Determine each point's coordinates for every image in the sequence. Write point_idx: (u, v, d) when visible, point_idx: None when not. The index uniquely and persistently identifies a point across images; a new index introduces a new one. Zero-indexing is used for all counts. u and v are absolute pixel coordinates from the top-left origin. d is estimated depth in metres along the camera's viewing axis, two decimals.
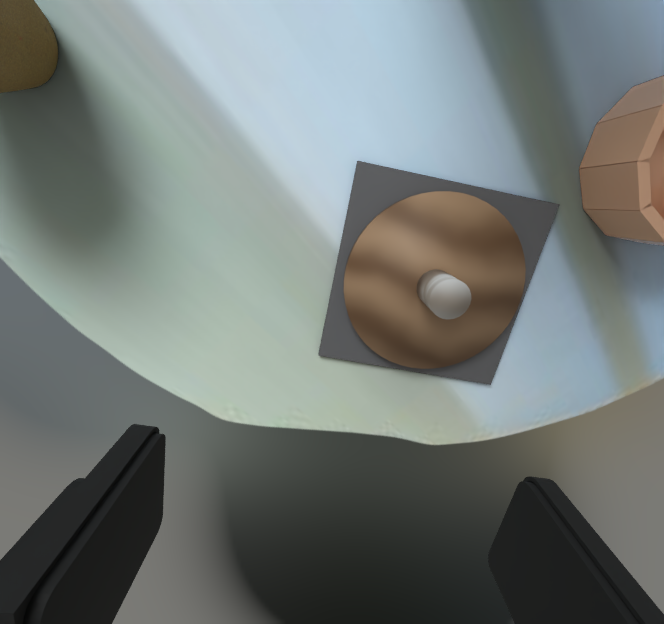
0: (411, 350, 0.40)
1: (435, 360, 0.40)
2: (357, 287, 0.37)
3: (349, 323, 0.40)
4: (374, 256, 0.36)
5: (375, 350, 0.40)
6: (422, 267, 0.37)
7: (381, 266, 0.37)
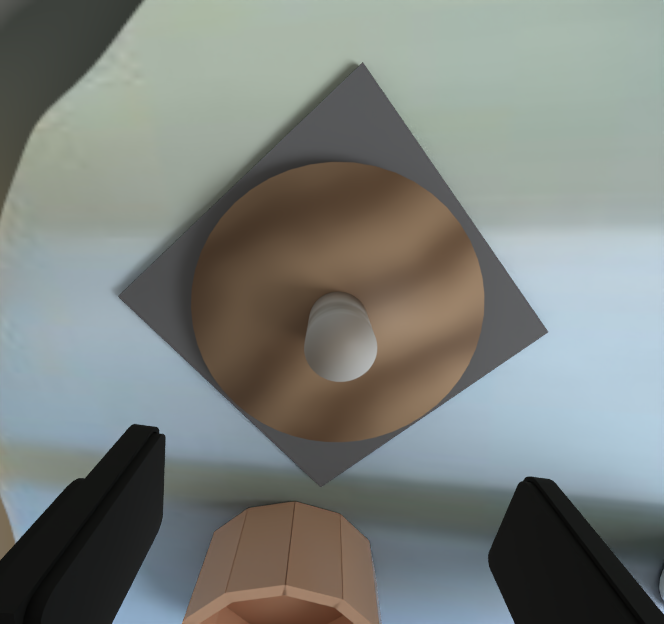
0: (265, 224, 0.21)
1: (221, 248, 0.22)
2: (424, 220, 0.21)
3: (373, 162, 0.22)
4: (442, 274, 0.23)
5: (306, 168, 0.21)
6: (376, 322, 0.23)
7: (422, 273, 0.22)
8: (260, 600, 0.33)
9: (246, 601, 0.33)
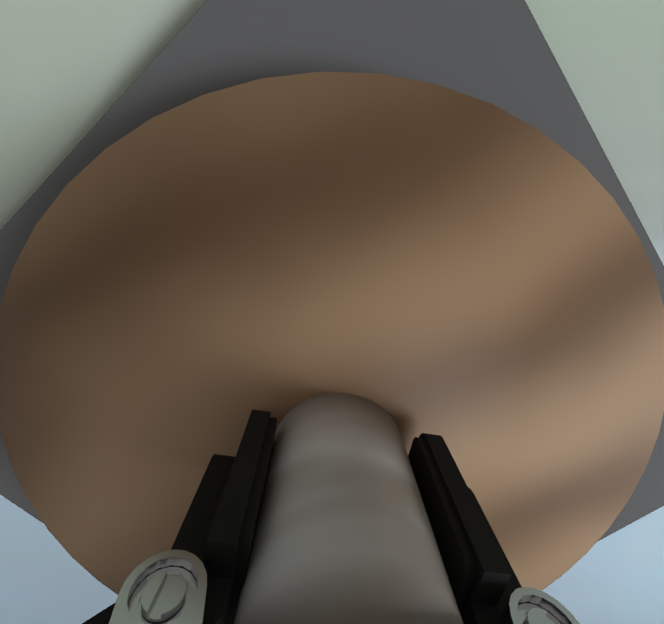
0: (153, 242, 0.08)
1: (49, 299, 0.09)
2: (551, 229, 0.09)
3: None
4: (579, 355, 0.10)
5: (250, 91, 0.08)
6: None
7: (534, 353, 0.10)
8: None
9: None
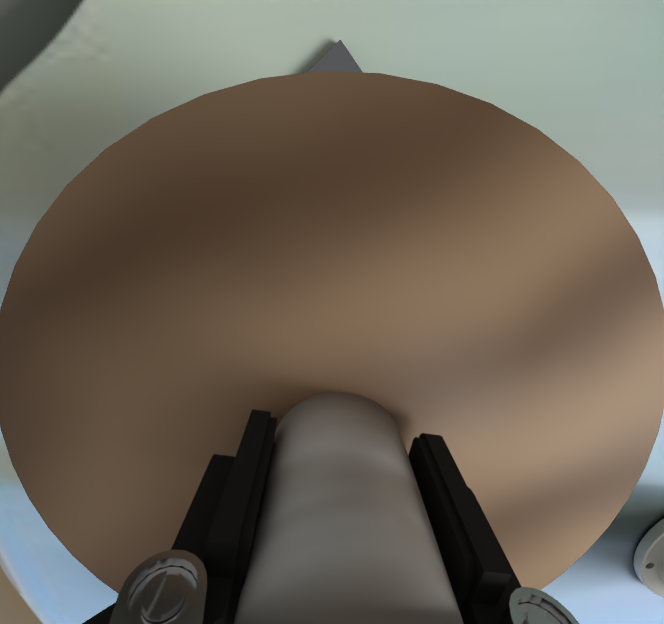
0: (154, 241, 0.09)
1: (50, 298, 0.09)
2: (551, 229, 0.09)
3: None
4: (579, 354, 0.10)
5: (251, 91, 0.08)
6: None
7: (534, 352, 0.10)
8: None
9: None
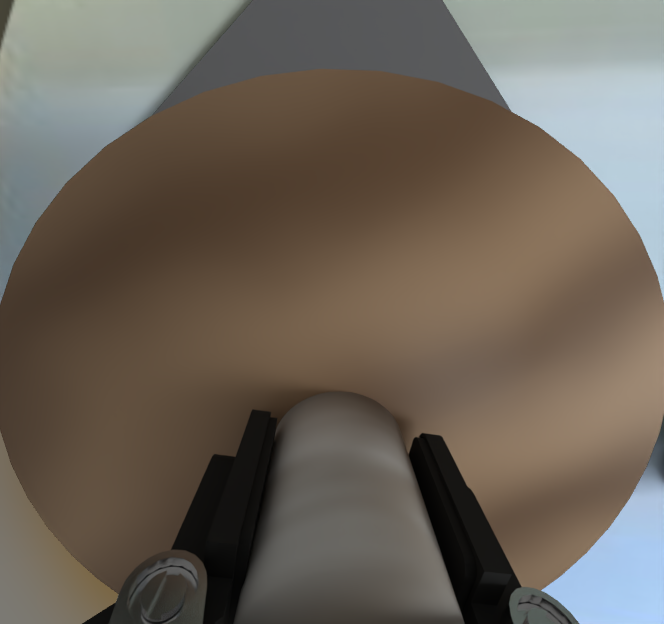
0: (153, 240, 0.08)
1: (50, 297, 0.09)
2: (552, 227, 0.09)
3: None
4: (580, 353, 0.10)
5: (251, 89, 0.08)
6: None
7: (535, 352, 0.10)
8: None
9: None
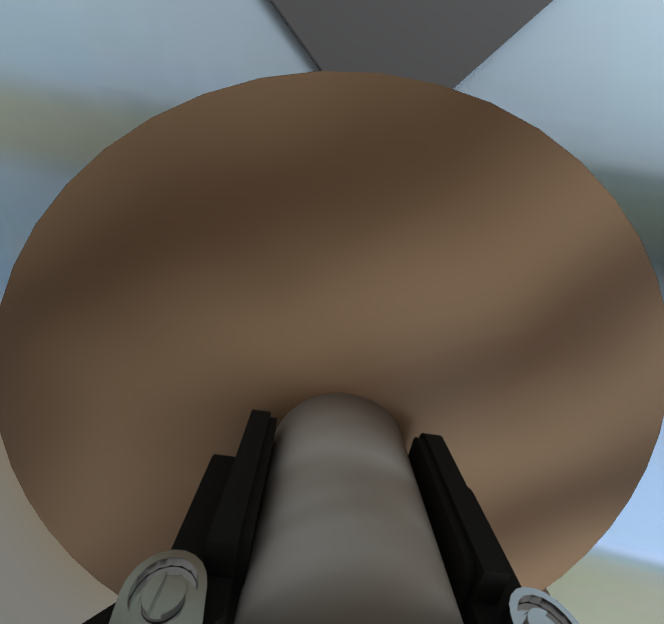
0: (154, 242, 0.08)
1: (49, 299, 0.09)
2: (552, 229, 0.09)
3: None
4: (580, 355, 0.10)
5: (250, 91, 0.08)
6: None
7: (535, 353, 0.10)
8: None
9: None
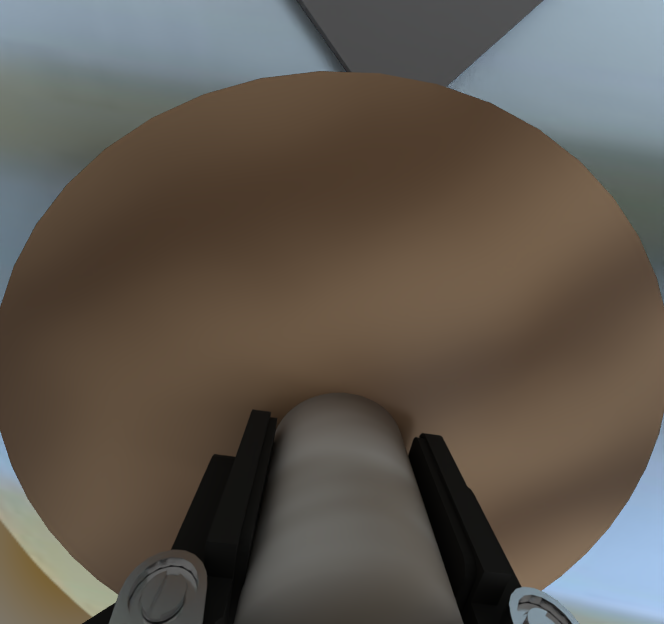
0: (153, 242, 0.08)
1: (49, 299, 0.09)
2: (551, 229, 0.09)
3: None
4: (579, 355, 0.10)
5: (250, 91, 0.08)
6: None
7: (534, 353, 0.10)
8: None
9: None
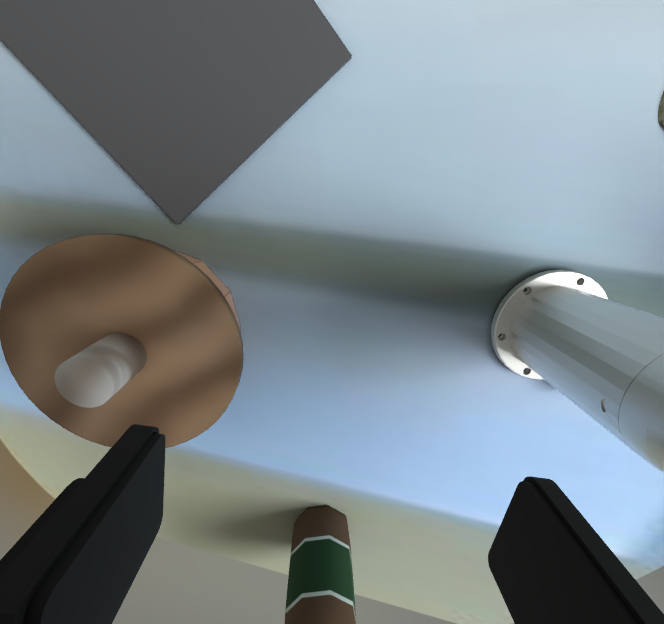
0: (49, 282, 0.27)
1: (17, 300, 0.28)
2: (174, 278, 0.27)
3: None
4: (199, 319, 0.28)
5: (73, 240, 0.26)
6: (154, 355, 0.29)
7: (183, 318, 0.28)
8: None
9: None
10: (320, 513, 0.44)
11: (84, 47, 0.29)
